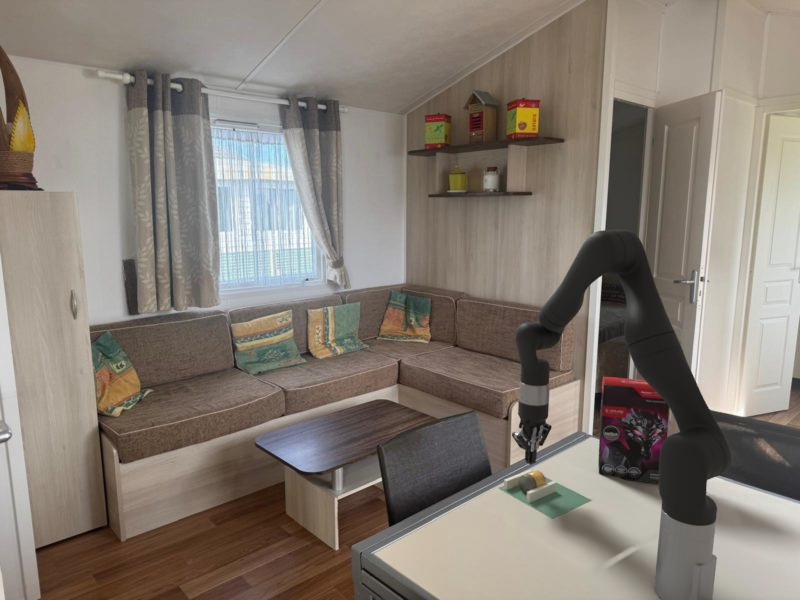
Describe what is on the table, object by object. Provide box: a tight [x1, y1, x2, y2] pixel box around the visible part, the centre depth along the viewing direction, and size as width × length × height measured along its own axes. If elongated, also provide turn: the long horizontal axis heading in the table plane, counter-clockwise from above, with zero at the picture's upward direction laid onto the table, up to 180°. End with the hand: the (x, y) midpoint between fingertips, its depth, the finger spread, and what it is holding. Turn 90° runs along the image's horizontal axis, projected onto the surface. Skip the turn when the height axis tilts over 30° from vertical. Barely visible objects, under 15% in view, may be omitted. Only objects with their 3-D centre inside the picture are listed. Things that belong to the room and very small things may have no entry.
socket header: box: [503, 469, 557, 503], centre depth 147 cm, size 9×10×2 cm
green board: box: [498, 476, 592, 520], centre depth 145 cm, size 18×15×1 cm
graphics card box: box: [597, 376, 670, 485], centre depth 155 cm, size 17×7×27 cm, turn 73°
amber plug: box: [518, 470, 547, 495], centre depth 146 cm, size 5×5×5 cm
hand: (530, 462), depth 146 cm, fingers closed
